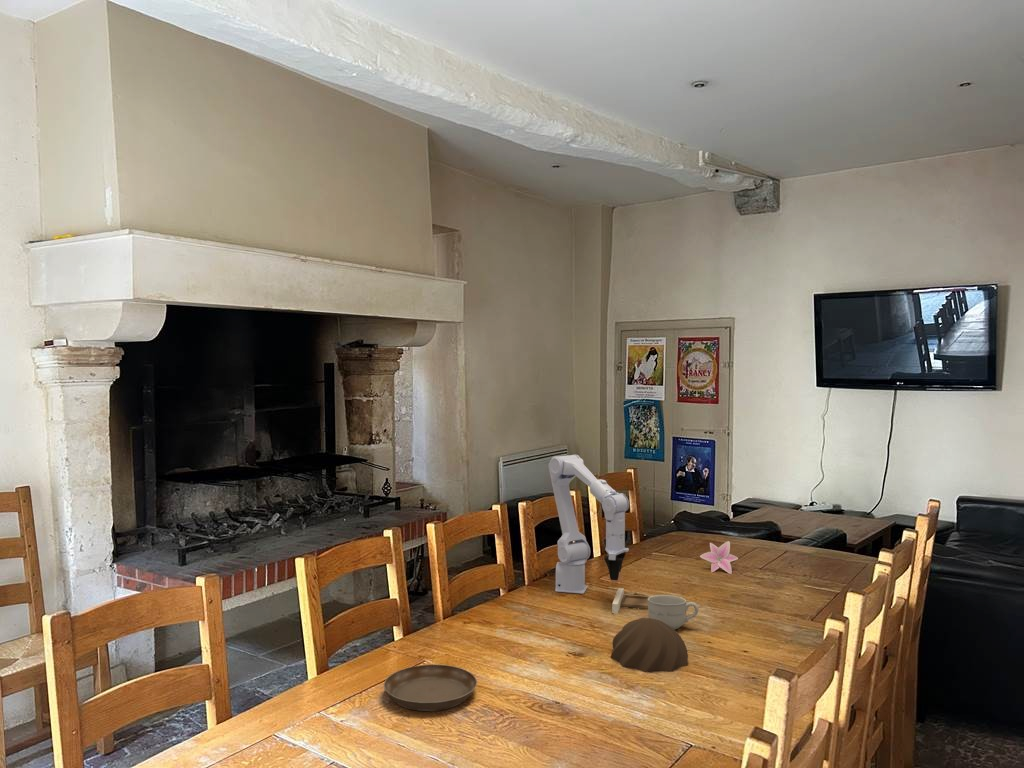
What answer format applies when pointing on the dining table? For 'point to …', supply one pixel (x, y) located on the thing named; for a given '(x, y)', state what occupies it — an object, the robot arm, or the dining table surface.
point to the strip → (617, 600)
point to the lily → (720, 557)
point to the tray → (635, 601)
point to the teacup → (670, 610)
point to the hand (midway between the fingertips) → (615, 577)
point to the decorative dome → (649, 646)
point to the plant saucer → (430, 687)
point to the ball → (618, 578)
